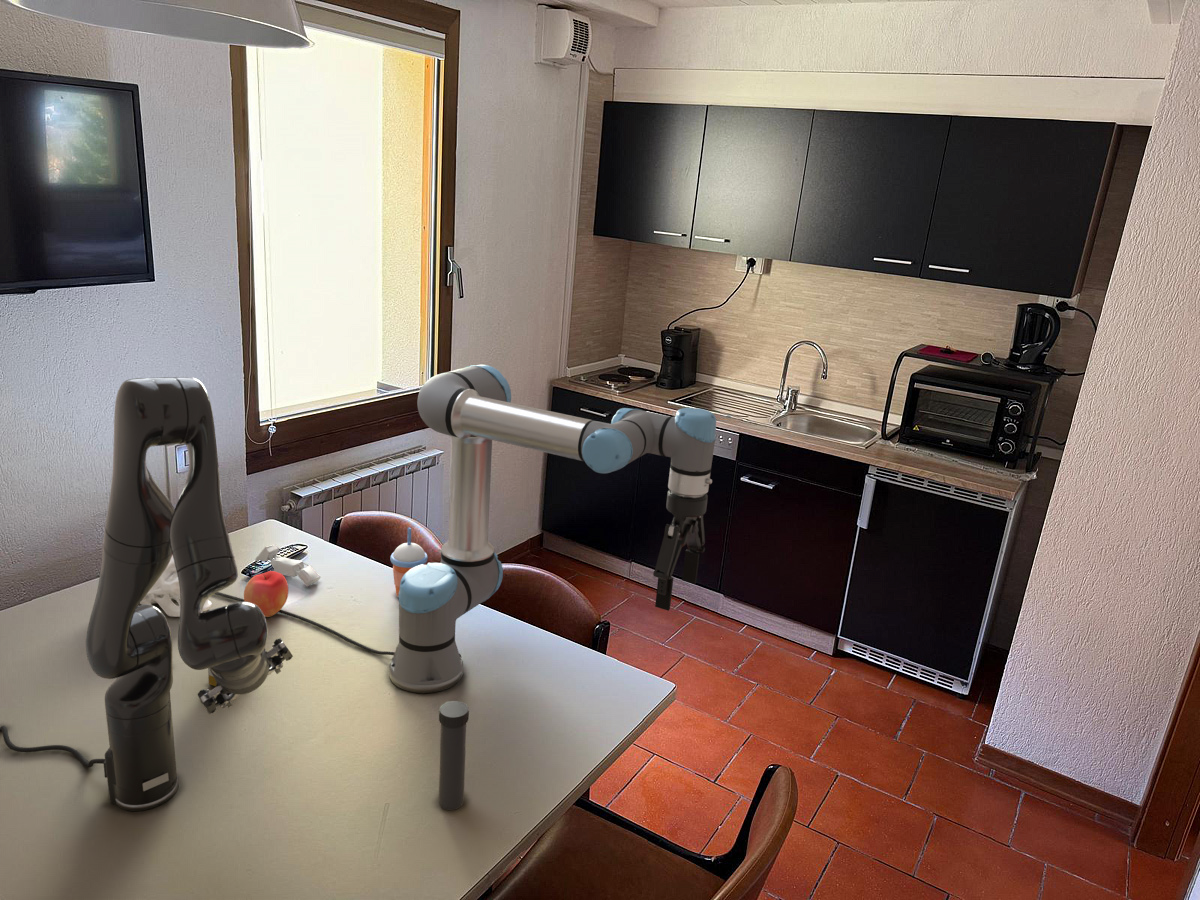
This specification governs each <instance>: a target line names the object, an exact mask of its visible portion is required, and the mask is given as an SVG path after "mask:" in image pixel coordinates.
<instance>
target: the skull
mask: <svg viewBox="0 0 1200 900" xmlns="http://www.w3.org/2000/svg"><path fill="white" fill-rule="evenodd" d="M173 600H175V601H176V603H178V605H177V604H176V603H174V602H173ZM153 604H158V605H159V607H160V608H161V609H162V610H163V612H164V613H165V614H166V615H167V616H168V617H173V618H180V586H179V580H178V575H177V571H176V567H175V563H174V558H173V554H172V557H171V560H170V562H169V564H168V566H167V567H166V569H165V570H164V572H163V573H162V575H161V576H160V578H159V579H158V580H157V581H156V583H155V584H154V585H153V587H152V588H151V589H150V591H149V592H148V593H147V594H146V596H145V597H144V598H143V600H142V601H141V602H140V604H139V605H140V606H141V605H153ZM212 604H213V602H212V601H210V599H209V598H208V599H207V600H206V602H205V604H204V606H203V609H202V612H206V611H209V610H210V609H211V608H212Z"/></svg>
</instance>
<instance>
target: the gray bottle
mask: <svg viewBox="0 0 1200 900" xmlns="http://www.w3.org/2000/svg"><path fill="white" fill-rule="evenodd" d="M439 738H440V739H439V742H440V743H439V775H438V777H439V778H438V780H439V781H438V805H439V807H441V808H442V809H444V810H445V811H446V810H447V811H454V810H458V809H459V808H461V807H462V806H463V804H464V802H465V800H464V799H465V798H464V797H465V776H466V775H465V774H466V773H465V771H466V747H467V723H466V724H465V725H464V726H462V727H459V728H447V727H444V726H443V725H441V724H440V737H439Z"/></svg>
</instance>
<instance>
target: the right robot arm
mask: <svg viewBox="0 0 1200 900" xmlns="http://www.w3.org/2000/svg"><path fill="white" fill-rule="evenodd" d="M416 402H417V403H416V404H417V411H418V415H419V417H420V418H421V420H422V422H423V423H424V425H426V426H427V427H428V428H430V429H431V430H433V431H435V432H437V433H439V434H443V435H446V436H449V437H450V461H449V462H450V464H449V465H450V467H449V472H450V473H449V498H448V499H449V500H448V501H449V503H448V534H447V535H448V536H447V537H448V539H447V541H446V542H445V543H444V544H443V545H441V547H440V562H427V564H425V565H423V564H421V565H418V566H416V567H413V568H412V569H410V570H409V571H407V572H406V573H405V574H404V576H403V577H402V579H401V582H400V590H399V594H398V596H397V598H398V643H397V645H396V648H395V651H388V650H386V651H385V650H384V651H383V650H378V649H377V650H376V649H374V648H371V647H368V646H366V645H364V644H362V643H360V642H357V641H355V640H353V639H351V638H350V637H347V636H345V635H343V634H342V633H340V632H338V631H336V630H334V629H332V628H330V627H327V626H325V625H323V624H322V623H319V622H316V621H314V620H312V619H309V618H307V617H304V616H301V615H298V614H295V613H292V612H289V611H287V610H284V609H281V610H280V611H279V612H278V613H280V614H283V615H286V616H289V617H292V618H294V619H297V620H299V621H303V622H305V623H308V624H310V625H312V626H315V627H317V628H319V629H322V630H324V631H326V632H328V633H331V634H333V635H334V636H336V637H338V638H340V639H342V640H344V641H346V642H348V643H349V644H352V645H354V646H356V647H358V648H360V649H363V650H365V651H367V652H369V653H372V654H376V655H381V656H392V659H391V660H390V664H389V679H390V681H391V682H392V683H393V684H394V685H395V686H396V687H398V688H399V689H401V690H404V691H407V692H410V693H416V694H430V693H431V694H432V693H438V692H441V691H445V690H447V689H450V688H451V687H453V686H455V685H456V684H457V683H458V682H459V681H460V680H461V679H462V676H463V672H464V662H463V660H462V654H461V653H460V652H459V649H458V646H457V642H456V622H457V620H458V619H459V618H461V617H462V616H463V615H465V614H467V613H469V612H470V611H471V610H472V609H474V608H476V607H477V606H479V605H480V604H482V603H484V602H486V601H487V600H489V599H490V598H491V597H492V596H493V595H494V594H495V593H496V592H497V591H498V590H499V588H500V586H501V585H502V581H503V578H504V569H503V564H502V561H501V560H499V559H498V558H499V556H498V555H497V554H498V553H496V551H495V547H494V545H492V544H491V542H489V524H490V523H489V522H490V497H491V479H492V478H491V477H492V452H493V451H492V450H493V441H494V442H499V443H503V444H507V445H512V446H517V447H521V448H524V449H529V450H534V451H538V452H542V453H546V454H551V455H555V456H558V457H559V456H560V457H563V458H567V459H572V460H576V461H581V462H585V464H586V465H587V467H589V468H590V469H591V470H592V471H593V472H595V473H598V474H609V473H612V472H617V471H619V470H621V469H623V468H624V467H626V466H627V465H628V464H630V463H632V462H634V461H635V460H637V459H639V458H641V457H642V456H644V455H646V454H652V455H657V456H660V457H666V458H667V457H668V458H670V467H669V473H668V474H669V476H668V483H667V488H668V490H667V495H666V504H665V505H666V506H665V508H666V510H667V511H668V512H669V513H671V514H672V515H673V518H672V520H671V522H670V524H669V523H666V524H665V527H664V533H663V539H662V541H661V546H660V550H659V553H658V555H657V560H656V564H655V567H654V570H653V577H654V578H657V584H656V594H655V604H654V607H655V608H659V609H661V610H665V611H670V610H671V603H672V595H673V587H674V586H673V585H674V576H673V574H674V571H675V568H676V565H677V562H678V559H679V557H680V554H681V551H682V548H684V547H685V546H686V547H687V549H686V550H685V551H684V552H685V553H684V559H683V560H684V562H683V569H682V570H683V571H682V579H681V582H686V583H690V584H693V585H695V584H696V583H697V578H698V570H699V563H700V554H701V553H704V552H705V550H706V547H705V546H704V545H705V543H706V538H705V526H704V525H705V524H704V515H705V514H706V513H707V508H708V507H707V506H708V498H709V496H708V493H709V488H710V485H712V483H713V479H711V472H712V465H713V464H712V463H713V458H714V451H715V443H716V440H717V436H716V433H717V432H716V431H717V417H716V415H715V414H714V413H713V412H712V411H710V410H707V409H703V408H699V407H697V408H696V407H695V408H694V407H682V408H679V409H677V411H676V413H675V415H674V416H670V415H666V414H661V413H657V412H656V413H655V412H650V411H647V410H643V409H640V408H628V407H622V408H619V409H618V410H617V411H616V413H615V414H614V415H613V416H612V419H611V422H610V423H609V422H604V421H603V422H602V421H597V420H593V419H589V418H585V417H580V416H574V415H570V414H565V413H561V412H556V411H551V410H546V409H542V408H538V407H533V406H527V405H523V404H518V403H515V402H512V391H511V387H510V384H509V382H508V380H507V378H506V377H504V375H503V373H502V372H501V371H500V370H499V369H497V368H495V367H494V366H491V365H488V364H477V365H472V364H471V365H467V366H465V367H463V368H457V369H455V370H450V371H446V372H442V373H439V374H435V375H433V376H432V377H430V378H429V379H428V380H427V381H426V382H425V383H423V385H422V386H421V388H420V389H419V392H418V395H417V401H416ZM214 595H216V596H220V597H223V598H226V599H229V600H234V601H236V602H245V601H244V598H241V597H238V596H234V595H230V594H226V593H223V592H221V591H219V592H217V593H215V594H214Z"/></svg>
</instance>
